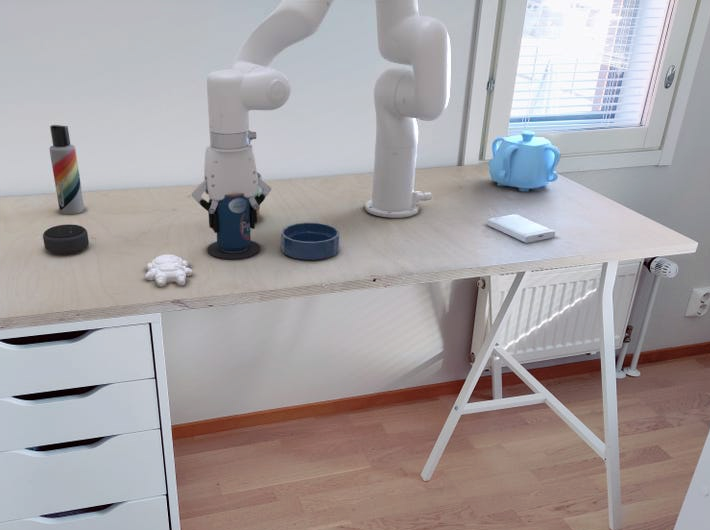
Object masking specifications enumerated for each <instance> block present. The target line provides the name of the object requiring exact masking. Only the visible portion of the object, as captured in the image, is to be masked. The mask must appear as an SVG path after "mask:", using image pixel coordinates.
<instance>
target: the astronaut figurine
mask: <svg viewBox="0 0 710 530" xmlns="http://www.w3.org/2000/svg"><path fill="white" fill-rule="evenodd" d="M146 270H147V271H146V273H145V275H144V277H145V280H146V281H154V280H155V283H156V285H157V286H158V287H160V288H163V287H164V286H166V284H168V283H176V284H177V285H178V286H180V287H183V286H185V285H186V277H191V276H192V274H193V270H192V269H191V267H189V262H188V261H187V260H185V259H182V258H181V257H179V256H177V255H175V254H161V255H159V256H156V257H155V258H154V259H152V261H151V262H149V263H147V264H146Z"/></svg>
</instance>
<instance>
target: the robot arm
mask: <svg viewBox="0 0 710 530" xmlns="http://www.w3.org/2000/svg"><path fill="white" fill-rule="evenodd" d="M418 1H419V0H375V13H376V15H375V16H376V29H377V31H376V32H377V46H378V51H379V54H380V56H381V57H382V58H383V59H384V60H385V61H388V62H390V63H394V64H398V65H403V66H404V65H405V66H411V68H406V67H391V68H388V69H386V70H384V71H383V72H382V73H380V75H379V76H378V77H377V79H376V81H375V84H374V88H373V100H374V101H373V103H374V109H375V116H376V117H375V119H376V121H375V125H376V126H375V127H376V128H375V129H376V131H375V144H374V145H375V146H374V159H373V160H374V161H373V177H372V178H373V179H372V193H371V194H372V196H371V199H369V200H368V201H366V202H365V204H364V209H365V211H366V212H367V213H369V214H370V215H373V216H377V217H380V218H388V219H389V218H390V219H391V218H392V219H399V218H400V219H401V218H408V217H412V216H414V215H416V214H417V213H418V212H419V205H418V203H420V202H427V201H432V198H433V195H432V192H430V191H427V192H422V190H415V189H414V188H415V176H416V165H417V154H418V145H419V128H418V123H417V120H418V121H424V122H425V121H426V122H431V121H434V120H437V119H439V118H440V117H441V116H442V115H444V113H445V111H446V109H447V107H448V104H449V99H450V92H451V91H450V90H451V41H450V36H449V33H448V30H447V27H446V26H445V24H444V22H442V21H441V20H440V19H438V18H436V17H433V16H428V15H427V16H426V15H420V12H419V4H418ZM333 3H334V0H281V1H280V2H279V4H278V6H277V7H276V8H275V9H274V10H273V11H272V12H270V13H269V14H268V15H267V16H266V17H265V18H264V19H263V20H262V21H260V23H259V24H258V25H257V26H255V28H254V29H253V30H252V31H251V32H250V33H249V34H248V35H247V37H246V38H245V39H244V41H243V43H242V44H241V45H240V48H239V49H238V51H237V53H236V54H235V57H234V59H233V61H232V63H231V65H230V68H229V69H219V70H213V71H211V72H210V73H209V74H208V75H207V78H206V92H207V95H206V96H207V111H208V129H209V145H207V146H206V147H205V152H204V165H203V166H204V167H203V168H204V171H203V174H204V176H203V177H204V179H203V181H202V182H201V183H200V184H199V185H198V186H197V187H196V188H195V189H194V190H192V192H191V193H190V194H191V195H190V196H191V197H192V198H193V199H194V200H195V201H196V202H197V203H198V204H199V205H200V206H201V207H202V208H203V209H204V210H206V211H207V212H208V213H207V215H208V226H209V228H210V229H212V231H213V232H214V234H217V232H218V215H217V213H216V208H217V205H218V202H219V201H220V200H223V199H224V198H225V197H224V196H225V195H228V196H234V195H240V194H244V196H245V197H246V198H248V199H249V205H250V229H252V230H254V229H256V224H258V222H257V209H258V208H259V205H260V206H261V205H262V203H263V202H264V201H265V199H266V197H267V196H268V195H269V194H270V192H271V191H272V187H271V186H270V185H269V184H268V183H267V182H265V181H264V180H263V181H262V180H261V179H260V178H259V177H257V173H258V171H257V161H256V157H255V152H254V151H255V150H254V148H253V145H252V144H251V142H252V141H253V140H256V139H257V132H256V131H252V130H250V123H249V121H250V120H249V119H250V118H249V117H250V116H249V111H274V110H277V109H280V108H281V107H283V106H284V105H285V104H286V103H287V102H288V100H289V98H290V95H291V90H292V87H291V83H290V80H289V78H288V77H287V76H286V74H285V73H284V72H282V71H280V70H278V69H277V68H273V67H270V65H271V64H272V62H273V61H274V60H275V58H277V56H278V55H279V54H280V53H282V52H283V51H284V50H286V49H287V48H288V47H291V46H293V45H295V44H298V43H299V42H302V41H304V40H306V39H308V38H309V37H311V36H313V35H315V34H316V32H317V31H319V29H320V27H321V24H322V23H323V21H324V19H325V17H326V15H327V13H328V12H329V10H330V7H331V6H332V4H333ZM258 186H260V187H261V192H260V193H258ZM203 193H205V194H206V195H208V198H209V199H208V201H207V200H206V199H204V198H203V196H202V195H203ZM257 193H258V194H257ZM255 195H256V197H255V198H254V196H255Z"/></svg>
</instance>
